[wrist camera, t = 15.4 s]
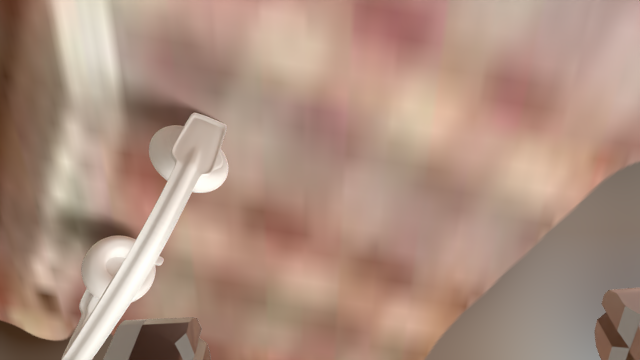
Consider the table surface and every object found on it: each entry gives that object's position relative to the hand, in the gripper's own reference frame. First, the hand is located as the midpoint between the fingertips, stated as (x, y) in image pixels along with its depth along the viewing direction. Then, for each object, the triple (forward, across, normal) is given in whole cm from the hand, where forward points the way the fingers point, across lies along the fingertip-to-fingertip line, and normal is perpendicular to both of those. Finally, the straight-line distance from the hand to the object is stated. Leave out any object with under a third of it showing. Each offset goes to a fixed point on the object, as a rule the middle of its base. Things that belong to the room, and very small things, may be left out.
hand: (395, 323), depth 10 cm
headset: (+33, +19, +17) cm, 42 cm away
